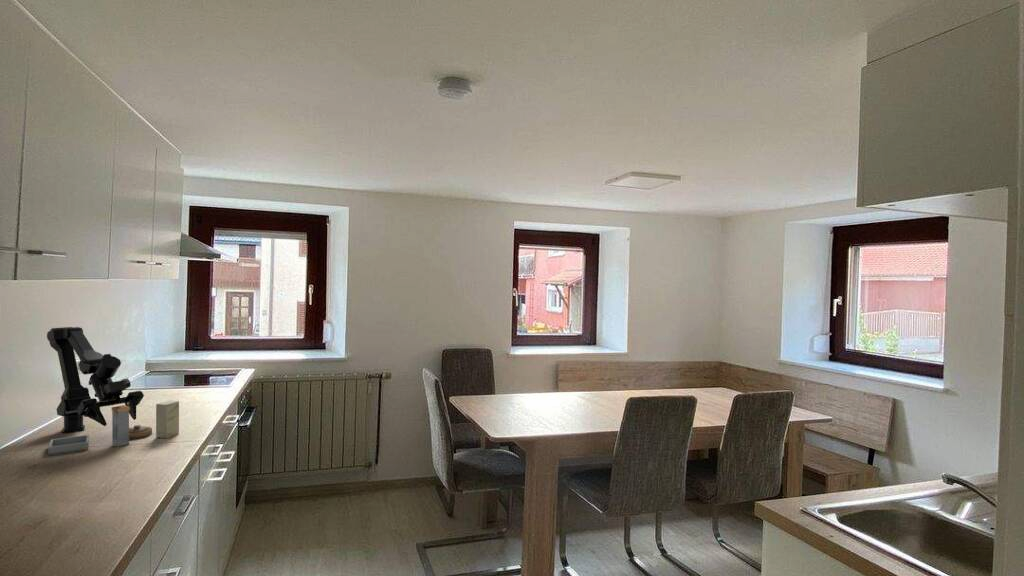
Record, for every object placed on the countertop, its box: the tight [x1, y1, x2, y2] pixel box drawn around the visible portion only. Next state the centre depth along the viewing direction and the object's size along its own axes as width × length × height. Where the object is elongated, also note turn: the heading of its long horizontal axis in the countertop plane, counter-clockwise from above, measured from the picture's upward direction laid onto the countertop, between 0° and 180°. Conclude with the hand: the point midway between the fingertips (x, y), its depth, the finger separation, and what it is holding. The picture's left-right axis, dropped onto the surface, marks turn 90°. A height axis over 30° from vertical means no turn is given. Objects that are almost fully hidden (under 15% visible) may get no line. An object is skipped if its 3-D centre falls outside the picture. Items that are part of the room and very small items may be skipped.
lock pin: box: [111, 404, 130, 448], centre depth 190 cm, size 4×4×13 cm
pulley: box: [129, 424, 153, 440], centre depth 201 cm, size 9×9×4 cm
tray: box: [47, 434, 90, 456], centre depth 186 cm, size 10×10×2 cm
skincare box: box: [155, 400, 180, 439], centre depth 202 cm, size 6×4×12 cm
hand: (120, 422), depth 190 cm, fingers open, 9 cm apart
